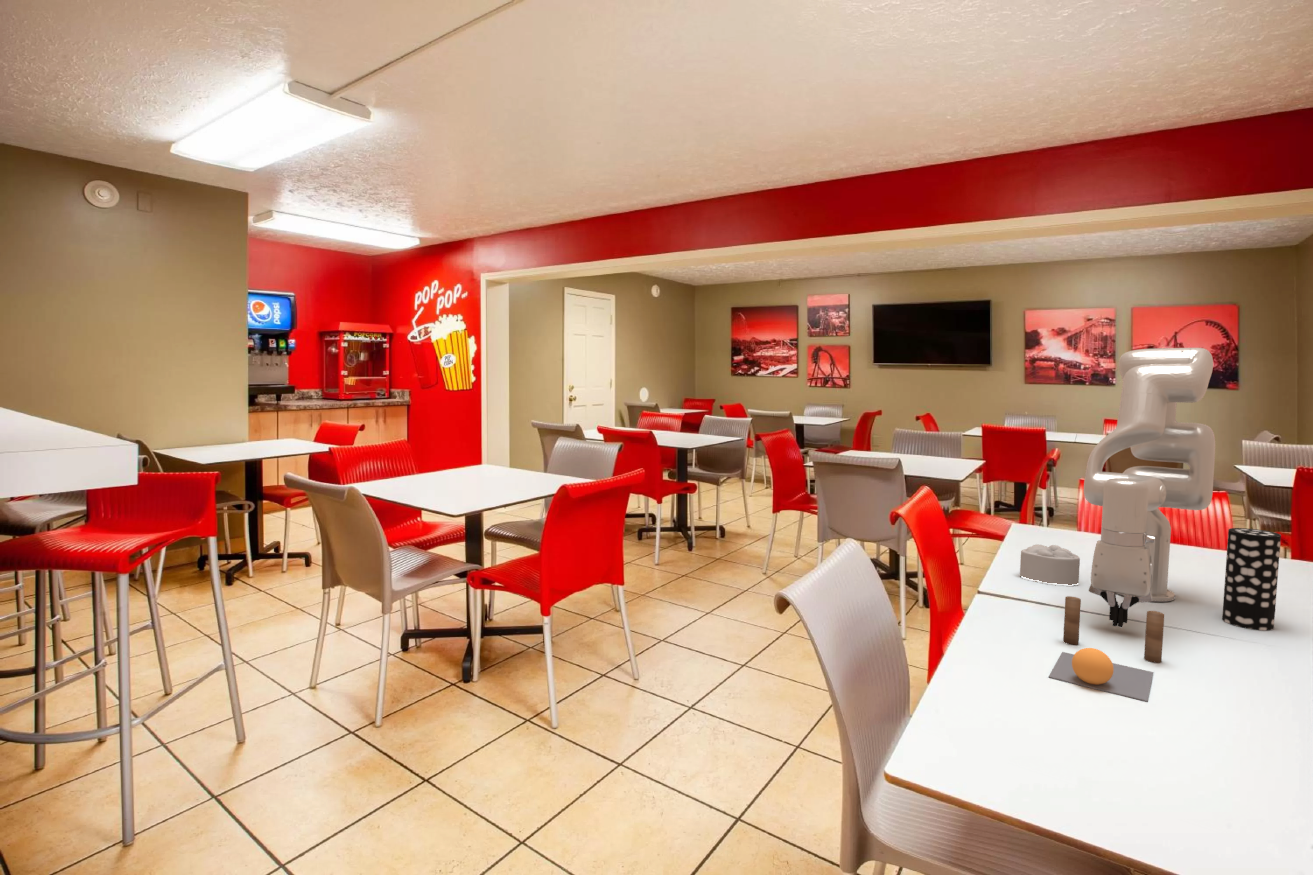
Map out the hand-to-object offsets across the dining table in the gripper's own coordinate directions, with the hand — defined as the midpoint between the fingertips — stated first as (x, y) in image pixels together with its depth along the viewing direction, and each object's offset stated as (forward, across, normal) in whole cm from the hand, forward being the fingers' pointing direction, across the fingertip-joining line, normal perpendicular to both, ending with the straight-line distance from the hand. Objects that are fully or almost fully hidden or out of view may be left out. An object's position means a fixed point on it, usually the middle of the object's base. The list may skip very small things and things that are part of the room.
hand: (1117, 624), depth 137 cm
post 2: (+2, -6, +13) cm, 15 cm away
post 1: (+2, +7, +13) cm, 15 cm away
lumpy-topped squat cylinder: (+2, +18, -34) cm, 38 cm away
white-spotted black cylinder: (+2, -21, -24) cm, 32 cm away
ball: (-2, +1, +32) cm, 32 cm away
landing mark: (+2, 0, +27) cm, 27 cm away
